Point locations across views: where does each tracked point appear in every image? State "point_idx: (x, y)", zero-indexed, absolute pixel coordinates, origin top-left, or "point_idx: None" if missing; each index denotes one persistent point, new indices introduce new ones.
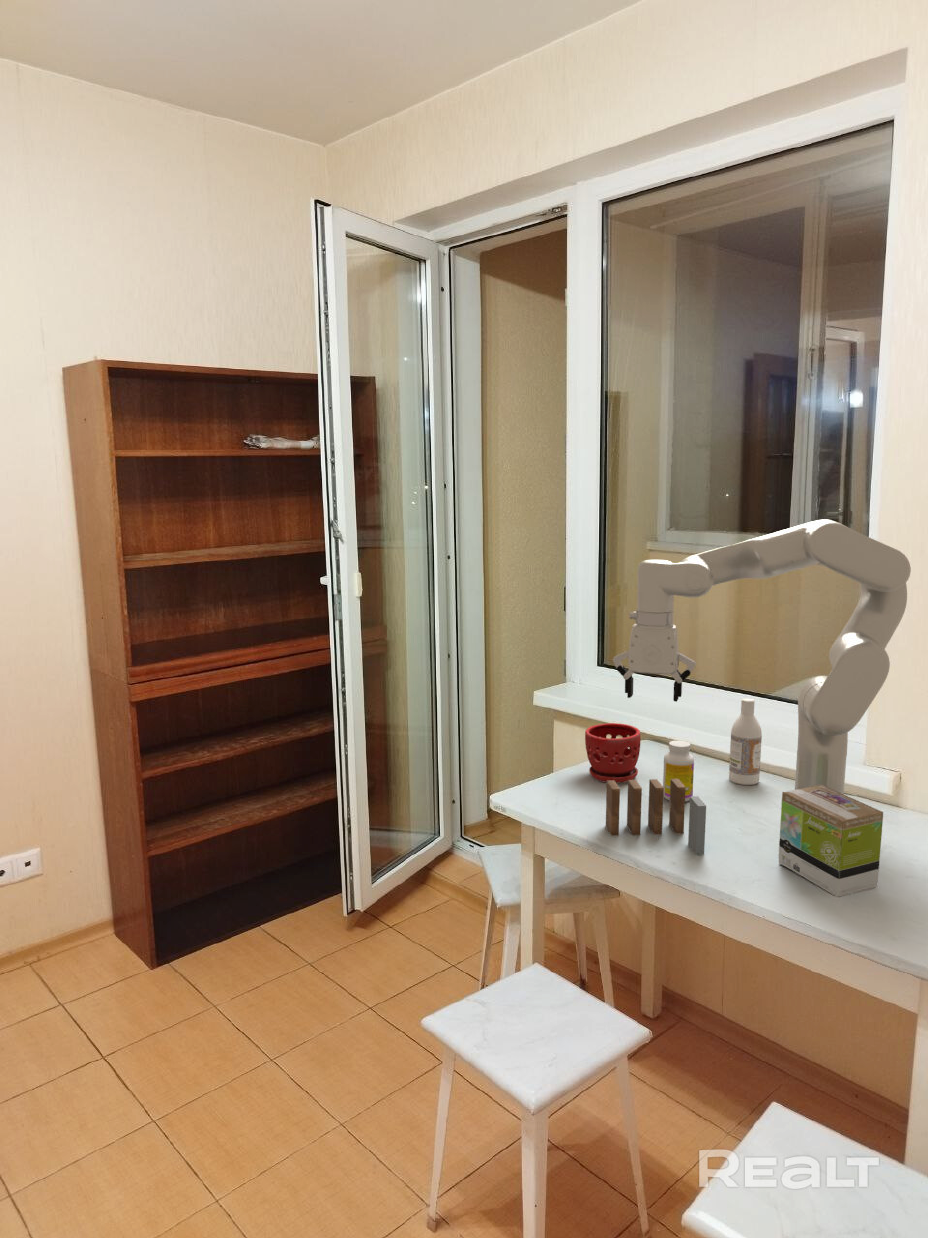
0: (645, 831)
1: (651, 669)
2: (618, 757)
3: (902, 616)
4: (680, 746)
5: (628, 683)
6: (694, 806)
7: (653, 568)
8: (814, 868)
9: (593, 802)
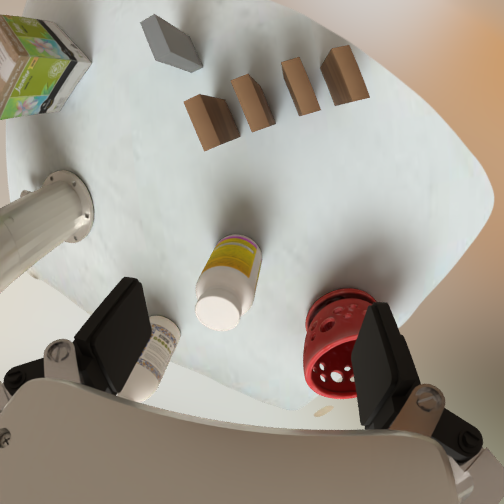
0: (277, 95)
1: (207, 457)
2: (343, 312)
3: None
4: (211, 297)
5: (405, 361)
6: (164, 31)
7: None
8: (55, 32)
9: (375, 205)
